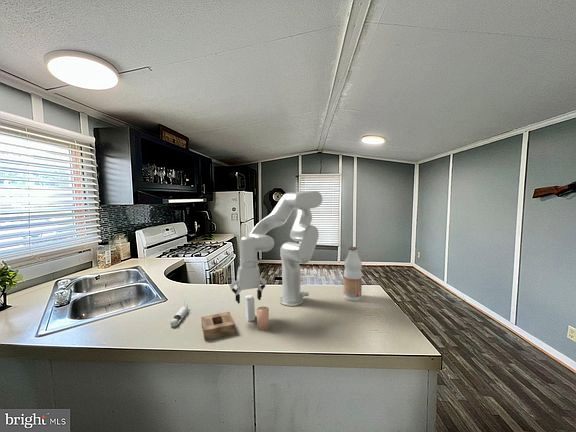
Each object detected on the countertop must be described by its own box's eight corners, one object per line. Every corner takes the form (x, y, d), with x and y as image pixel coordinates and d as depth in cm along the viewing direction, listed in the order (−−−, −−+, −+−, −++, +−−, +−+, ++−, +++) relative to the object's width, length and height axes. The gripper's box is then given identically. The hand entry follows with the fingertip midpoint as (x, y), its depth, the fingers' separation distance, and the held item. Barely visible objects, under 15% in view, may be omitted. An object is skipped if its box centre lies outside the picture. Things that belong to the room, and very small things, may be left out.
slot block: (229, 320, 115) (229, 311, 115) (235, 333, 104) (234, 323, 104) (201, 325, 111) (201, 317, 110) (204, 340, 100) (204, 330, 99)
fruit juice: (348, 302, 133) (349, 249, 131) (340, 295, 143) (341, 246, 140) (364, 300, 135) (365, 248, 133) (356, 294, 145) (357, 245, 142)
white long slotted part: (179, 328, 109) (178, 313, 109) (167, 328, 109) (167, 313, 109) (192, 309, 127) (191, 296, 127) (182, 309, 127) (182, 296, 126)
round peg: (266, 323, 113) (266, 305, 112) (270, 328, 108) (270, 310, 107) (255, 325, 111) (255, 307, 110) (259, 331, 106) (258, 312, 105)
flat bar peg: (251, 315, 120) (251, 294, 119) (254, 320, 115) (254, 298, 115) (245, 316, 119) (245, 295, 118) (248, 321, 114) (247, 299, 113)
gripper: (264, 260, 122) (264, 295, 123) (227, 263, 115) (228, 300, 116) (269, 263, 115) (269, 300, 116) (231, 267, 108) (231, 307, 109)
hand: (248, 300), depth 116 cm, fingers open, 9 cm apart
